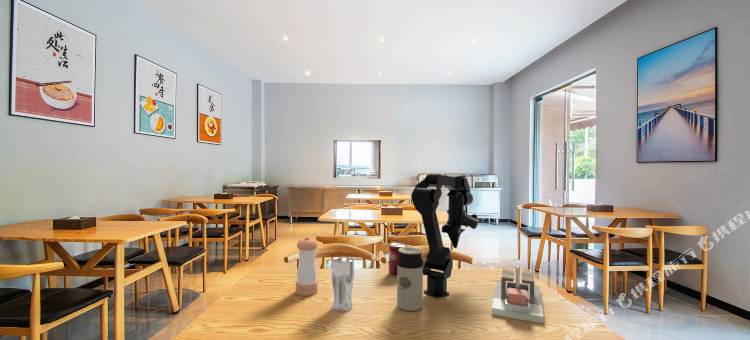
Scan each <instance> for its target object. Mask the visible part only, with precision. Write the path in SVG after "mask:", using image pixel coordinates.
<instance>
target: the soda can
mask: <svg viewBox="0 0 750 340" xmlns="http://www.w3.org/2000/svg"><path fill="white" fill-rule="evenodd" d="M403 247H408V246H407V244H405V243H401V242H395V243H390V244H389V245H388V274H389V275H390V276H393V277H397V268H398V258H399V256H400V253H399V249H400V248H403Z"/></svg>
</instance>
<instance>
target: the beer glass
mask: <svg viewBox="0 0 750 340" xmlns="http://www.w3.org/2000/svg"><path fill="white" fill-rule="evenodd" d="M354 260H355V259H354V258H352V257H349V256H337V257H334V258H332V261H331V283H332V288H333V297H334V299H333V303H332V304H333V305H332V309H333V310H334V311H335V312H336V311H337V312H348V311H350V310H352V308H353V302H352V301H353V300H352V292H353V291H352V290H353V285H354V279H355V263H354Z"/></svg>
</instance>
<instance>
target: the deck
mask: <svg viewBox="0 0 750 340" xmlns="http://www.w3.org/2000/svg"><path fill="white" fill-rule="evenodd" d="M509 288H515V282H509V281H506V290H505V298H506V296H508V289H509ZM520 289H522V290H526V295H527V298H526V299H529V314H525V313H519V312H513V311H507V310H505V298H504V299H501V280H497V281H496V285H495V290H494V296H493V300H492V304H491V305H492V306H491V315H492V316H493V315H494V316H498V317H504V318H510V319H514V320H515V319H516V320H522V321H526V322H527V321H528V322H531V323H532V322H533V323H539V324H544V317H545V316H544V310H543V304H542V297H541V296H542V295H541V291H540V285H536V284H534V304H530V284H524V283H520Z"/></svg>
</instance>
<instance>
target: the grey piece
mask: <svg viewBox="0 0 750 340" xmlns="http://www.w3.org/2000/svg"><path fill="white" fill-rule="evenodd" d="M520 276H521V267H520V266H515V279H514V280H515V282H514V283H515V289H520V284H521V283H520V282H521V281H520V280H521V278H520ZM505 310H507V311H513V312H519V313H525V314H529V299H526V306H522V305H516V304H510V303H508V296H506V298H505Z"/></svg>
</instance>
